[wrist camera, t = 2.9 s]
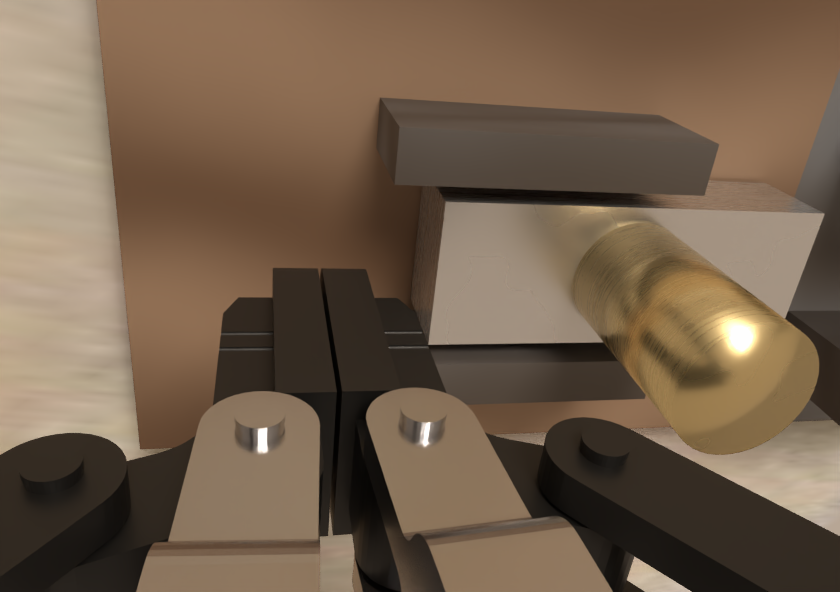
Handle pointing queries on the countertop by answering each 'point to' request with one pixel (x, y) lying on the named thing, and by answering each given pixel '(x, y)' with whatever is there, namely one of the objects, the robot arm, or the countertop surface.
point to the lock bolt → (635, 292)
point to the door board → (443, 161)
